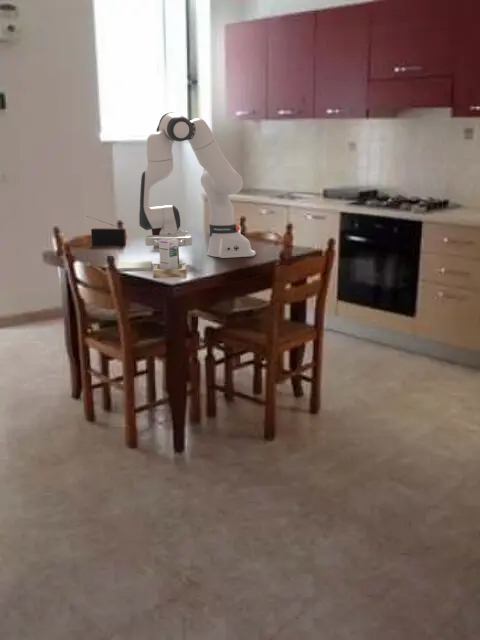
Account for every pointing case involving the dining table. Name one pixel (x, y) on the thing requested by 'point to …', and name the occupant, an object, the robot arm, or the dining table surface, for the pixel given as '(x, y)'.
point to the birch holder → (169, 271)
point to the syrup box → (169, 253)
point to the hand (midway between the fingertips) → (168, 243)
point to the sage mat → (135, 265)
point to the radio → (108, 236)
